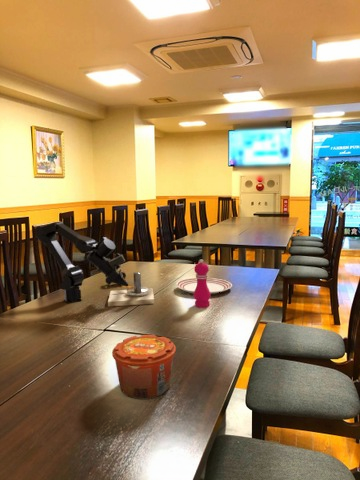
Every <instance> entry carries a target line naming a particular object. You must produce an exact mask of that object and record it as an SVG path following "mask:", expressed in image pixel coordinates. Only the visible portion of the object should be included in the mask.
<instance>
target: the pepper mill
mask: <svg viewBox="0 0 360 480" xmlns="http://www.w3.org/2000/svg"><path fill="white" fill-rule="evenodd" d="M198 261H199V263H196V265H194V272H195V278H197V286H196V289H195V291H194V294H193V299H194V300H195V301H194V306H195V307H197V308H200V309H202V308H203V309H204V308H207V307H210V305H211V304H210V299H211V297H212V296H211V295H212V294H210V291H209V289H208V286H207V281H206V280H207V278H209V276H208V272H209V270H210V268H209V265H208V264H207V263H205V262H204V259H199V260H198Z"/></svg>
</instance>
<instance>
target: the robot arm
mask: <svg viewBox="0 0 360 480" xmlns="http://www.w3.org/2000/svg"><path fill="white" fill-rule="evenodd" d="M57 234H59V235H60V236H61V237H63V238H65V240H67V241H69V242H71V243H72V244H74V247H75V249H76V250H77V251H78V252H79V253H81V254H85V255H84V257H83V259H84V261H83V262H84V264H86V263H88V262H90V263H91V264H92V265H94V267H96V269H97V271H98V272H101V273H102V274H103V275H104V276H105V283H106V284H107V285H108V286H110V285H111V284H112V283H113V284H116V285H120V286H121V285H123V286H126V287H127V286H129V283H128V282H127V280H126V278H125V279H124V277H123V275H122V274H121V272H122V269H120V268H121V267H122V264H125V262H126V259H125V257H124V255H123V254H121V253H118V252H117V253H116V254H114V257H113V258H112V259H110V258H106V257H109V255H110V254H111V253H112V252H113V251H114V250H115V249H116V244H115V242H114V241H112V240H111V239H109V238H108V237H106V236H105V237H104V236H103V237H102V238H101V239H100V240H99V242H98V241H96V240H95V239H94V238H91V237H89V236H85V235H81V234H79V233H78V232H76V231H75V230H73V229H72V228H70V227H69V226H67V225H66V224H64V223H63V222H61V221H55V222H54V221H53V222H52V223H49V224H47V225H46V224H45V225H39V226H36V227H35V231H34V236H35V237H36V238H37V239H38V241H39V242H41V243H42V244H44V245H45V246H46V247H47V249H48V250H49V251H50V253H51V256H53V258H54V259H55V261H56V262H57V264H58V266H59V267H60V269H61V270H62V278H63V281H62V282H61V283H60V284H59V287H60V289H61V290H63V292H64V294H63V295H64V298H63V301H64V300H65V301H66V302H67V303H66V302H65V301H64V302H65V303H66V304H69V303H68V302H71V303H76V302H75V301H77V302H81V301H82V293H81V292H82V290H81V289H80V287H81V286H82V285H83V282H84V277H85V275H84V271H83V270H82V269H81V267H80V266H79V265H76V266H75V265H74V264H72V262H71V260H70V259H69V257H68V256H67V254H66V253H65V251H64V250H63V248H62V247H61V245H60V243H59V242H58V240H57ZM87 253H88V254H87ZM119 269H120V270H119Z"/></svg>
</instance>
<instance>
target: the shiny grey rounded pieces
mask: <svg viewBox="0 0 360 480" xmlns="http://www.w3.org/2000/svg"><path fill="white" fill-rule="evenodd" d="M132 275H133V286H130V285H128V286H127V287H126V286H121V288H126V290H127V295H128V296H132V297H140V296H145V295H148V294H149V289H150V288H149V287H148V286H143V283H142V276H141V275H142V274H141V272H139V271H135V272H133V273H132Z"/></svg>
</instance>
